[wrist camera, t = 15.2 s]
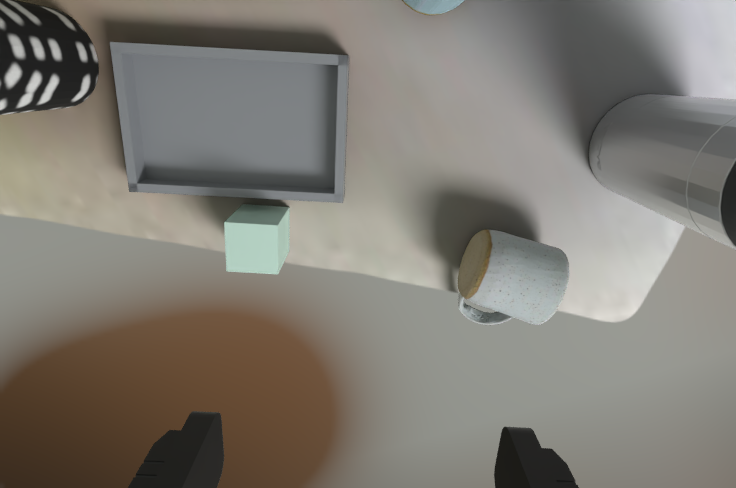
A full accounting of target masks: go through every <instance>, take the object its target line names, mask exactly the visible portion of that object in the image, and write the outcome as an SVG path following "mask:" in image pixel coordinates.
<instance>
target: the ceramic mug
mask: <svg viewBox="0 0 736 488" xmlns="http://www.w3.org/2000/svg"><path fill="white" fill-rule="evenodd" d="M568 280H569V263H568V259H567V257H566V254H565V253H564V252H563V251H562V250H561V249H559V248H556V247H552V246H548V245H545V244H542V243H538V242H535V241H532V240H529V239H525V238H521V237H517V236H514V235H511V234H508V233H505V232H502V231H497V230H487V229H485V230H481V231H479V232H478V233H476V234H475V235H474V236H473V237H472V239H471V240H470V242H469V244H468V246H467V248H466V250H465V253H464V255H463V258H462V261H461V264H460V269H459V274H458V289H459V292H460V293H459V309H460V311H461V313H462V314H463V315H464V316H465V317H466V318H468V319H469V320H471V321H473V322H476V323H479V324H484V325H496V324H500V323H504V322H506V321H508V320H510V319H512V318H513V317H514V318H517V319H520V320H522V321H525V322H528V323H530V324H536V325H539V324H542V323H544V322H546V321H547V320H548V319H549V318H551V317H552V316H553V315H554V313H555V312H556V310H557V309H558V307H559V305H560V304H561V302H562V299H563V297H564V294H565V292H566V288H567V285H568ZM464 298H465V299H467V300H469V301H471V302H473V303H474V304H477V305H480V306H482V307H486V308H489V309H493V310H495V311H498V312H494V313H485V312H482V311H479V310H477V309H475V308H472V307H471V306H468V305H466V304H465V303H464Z"/></svg>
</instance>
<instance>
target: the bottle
mask: <svg viewBox="0 0 736 488" xmlns="http://www.w3.org/2000/svg"><path fill="white" fill-rule="evenodd" d="M402 1H403V2H404V3H405V4H406V5H407V6H409V7H410V8H411V9H413V10H414V11H416V12H419V13H422V14H425V15H439V14H443V13H445V12H448V11H450V10H453V9H454V8H456V7H457V6H458V5H460V4H461V3H462V2H463V1H465V0H402Z"/></svg>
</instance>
